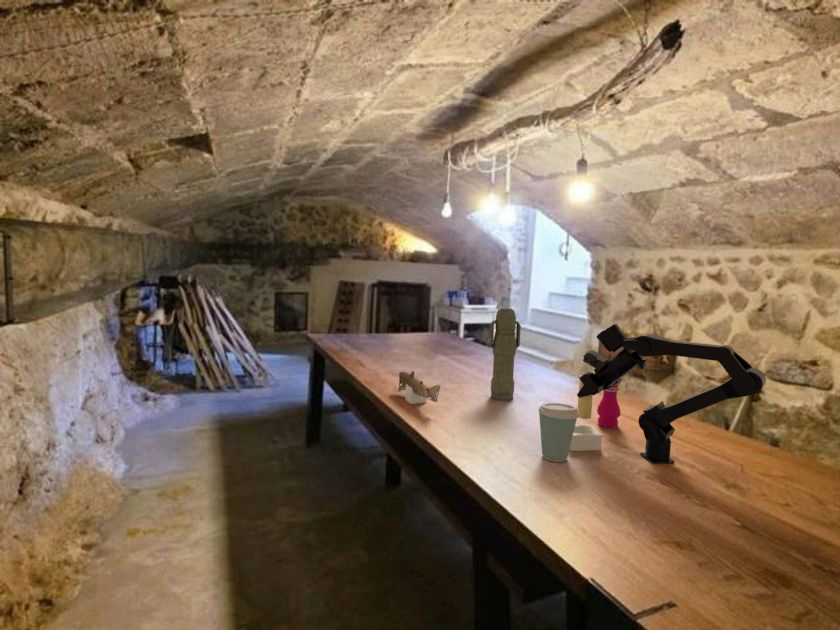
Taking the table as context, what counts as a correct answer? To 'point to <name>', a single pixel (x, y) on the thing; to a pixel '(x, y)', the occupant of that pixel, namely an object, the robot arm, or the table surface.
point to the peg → (584, 404)
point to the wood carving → (416, 389)
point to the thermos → (504, 353)
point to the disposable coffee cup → (557, 430)
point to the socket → (585, 438)
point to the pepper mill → (609, 408)
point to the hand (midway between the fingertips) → (581, 394)
